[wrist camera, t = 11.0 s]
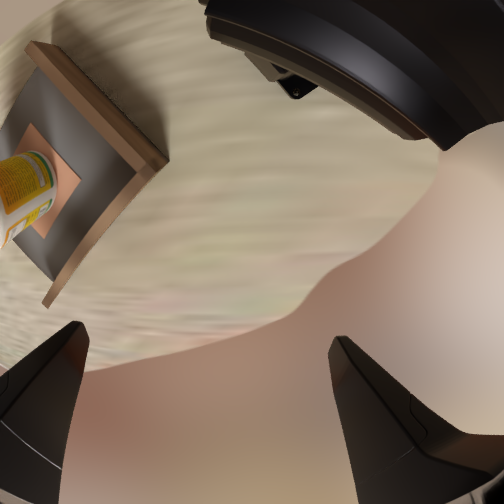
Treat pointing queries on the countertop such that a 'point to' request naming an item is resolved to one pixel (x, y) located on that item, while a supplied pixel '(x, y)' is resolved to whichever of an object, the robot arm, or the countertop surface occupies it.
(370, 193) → the countertop surface
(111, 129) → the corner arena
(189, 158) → the countertop surface
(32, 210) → the supplement bottle
